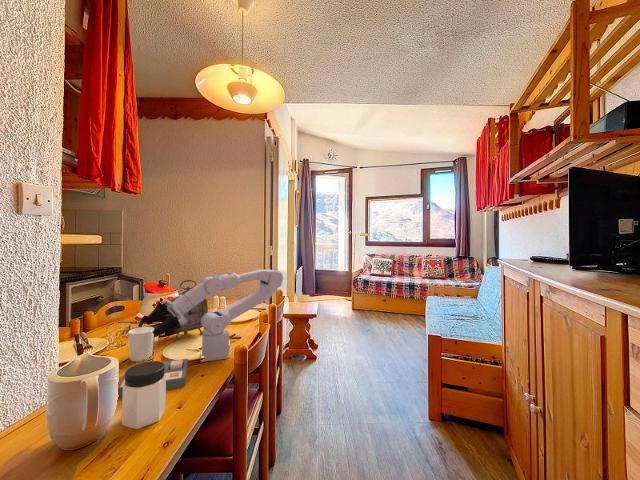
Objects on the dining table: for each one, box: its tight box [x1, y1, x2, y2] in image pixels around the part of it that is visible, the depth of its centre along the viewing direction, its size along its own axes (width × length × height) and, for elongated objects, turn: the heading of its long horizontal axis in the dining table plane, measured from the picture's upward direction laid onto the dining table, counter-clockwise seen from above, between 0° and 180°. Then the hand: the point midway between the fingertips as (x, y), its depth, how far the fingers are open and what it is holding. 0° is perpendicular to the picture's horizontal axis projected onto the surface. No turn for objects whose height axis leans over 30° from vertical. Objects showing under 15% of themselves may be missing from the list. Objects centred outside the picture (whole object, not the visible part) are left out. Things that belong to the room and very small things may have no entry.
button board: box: [118, 358, 189, 398], centre depth 83 cm, size 17×14×3 cm
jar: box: [121, 360, 167, 430], centre depth 66 cm, size 9×8×12 cm
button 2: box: [170, 359, 183, 370], centre depth 87 cm, size 3×3×2 cm
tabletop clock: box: [167, 279, 209, 341], centre depth 122 cm, size 14×9×25 cm, turn 134°
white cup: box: [127, 326, 155, 362], centre depth 99 cm, size 8×8×10 cm
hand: (149, 328), depth 88 cm, fingers open, 7 cm apart
